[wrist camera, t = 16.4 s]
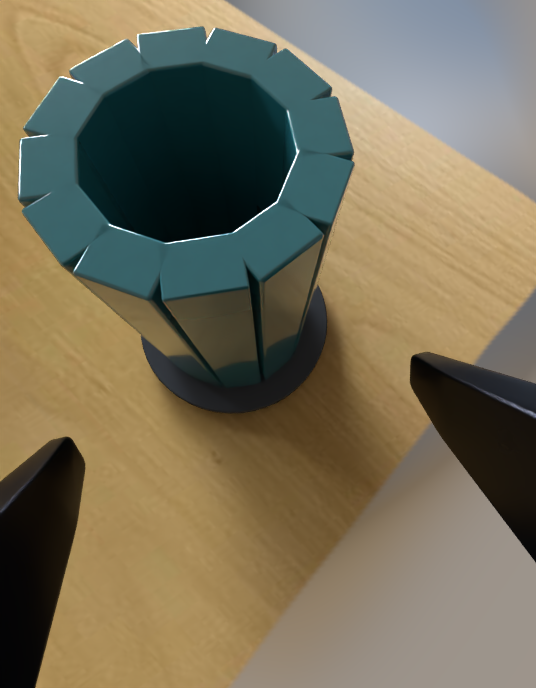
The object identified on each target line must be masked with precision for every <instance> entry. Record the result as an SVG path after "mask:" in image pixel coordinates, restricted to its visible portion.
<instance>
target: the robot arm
mask: <svg viewBox="0 0 536 688" xmlns="http://www.w3.org/2000/svg"><path fill="white" fill-rule="evenodd" d="M410 384H411V387H412V389H413V391H414V393H415V395H416V396H417V398H418V400H419V401H420V403H421V405H422V406H423V408H424V410H425V411H426V413H427V415H428V416H429V418H430V420H431V421H432V423H433V425H434V426H435V428H436V430H437V431H438V433H439V434H440V436H441V437H442V439H443V440H444V441H445V443H446V444H447V445H448V447H449V448H450V449H451V451H452V452H453V453H454V455H455V456H456V457H457V459H458V460H459V461H460V463H461V464H462V465H463V467H464V468H465V469H466V470H467V472H468V473H469V475H470V476H471V477H472V478H473V480H474V481H475V483H476V484H477V485H478V486H479V488H480V489H481V490H482V492H483V493H484V494H485V496H486V497H487V498H488V500H489V501H490V502H491V504H492V505H493V506H494V508H495V509H496V510H497V511H498V513H499V514H500V516H501V517H502V518H503V520H504V521H505V522H506V524H507V525H508V526H509V528H510V529H511V530H512V532H513V533H514V534H515V535H516V537H517V538H518V539H519V541H520V542H521V543H522V545H523V546H524V547H525V549H526V550H527V551H528V553H529V554H530V555H531V557H532V558H533V559H534V561H535V562H536V384H535V383H532V382H528V381H525V380H521V379H518V378H514V377H511V376H508V375H505V374H501V373H498V372H494V371H491V370H487V369H484V368H481V367H477V366H474V365H471V364H468V363H464V362H461V361H457V360H454V359H451V358H447V357H444V356H441V355H437V354H434V353H430V352H423V353H419V354H415V355H413V356H412V358H411V365H410ZM84 474H85V461H84V458H83V457H82V455H81V453H80V452H79V450H78V448H77V447H76V445H75V443H74V441H73V440H72V439H71V438H70V437H62V438H58V439H54V440H51V441H49V442H48V443H47V444H45V445H44V446H43V447H42V448H41V449H39V450H38V451H37V452H36V453H35V454H33V455H32V456H31V457H30V458H28V459H27V460H26V461H25V462H24V463H22V464H21V465H20V466H19V467H18V468H16V469H15V470H14V471H13V472H11V473H10V474H9V475H8V476H7V477H5V478H4V479H3V480H2V481H0V688H35V687H36V683H37V679H38V675H39V671H40V667H41V663H42V660H43V656H44V652H45V648H46V644H47V640H48V636H49V632H50V629H51V625H52V621H53V617H54V613H55V609H56V605H57V601H58V598H59V594H60V590H61V586H62V582H63V578H64V574H65V570H66V567H67V563H68V559H69V555H70V551H71V547H72V543H73V539H74V535H75V531H76V527H77V521H78V516H79V509H80V502H81V495H82V488H83V481H84Z"/></svg>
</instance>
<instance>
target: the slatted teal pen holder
mask: <svg viewBox="0 0 536 688" xmlns="http://www.w3.org/2000/svg"><path fill="white" fill-rule="evenodd" d="M137 46H138V49H137V48H136V47H135V46H134V45H133V44H132V43H131V42H130V41H129V40H128V39H124V40H122V41H120V42H118V43H117V44H115V45H113V46H111V47H109V48H107V49H106V50H104V51H102V52H100V53H98V54H96V55H95V56H93V57H91V58H89V59H87V60H85V61H84V62H82V63H80V64H78V65H76V66H74V67H73V68H71V69H70V70H69V72H70V75H71V77H72V79H73V80H72V79H69V78H65V77H62V76H61V77H59V78H58V79H57V81H56V82H55V84H54V85H53V86H52V88H51V89H50V91H49V92H48V93H47V95H46V96H45V98H44V99H43V100H42V102H41V103H40V105H39V106H38V107H37V109H36V110H35V112H34V113H33V114H32V116H31V117H30V119H29V120H28V121H27V123H26V124H25V125H24V127H23V130H24V131H25V133H26V134H27V135H28V136H29V137H24V138H21V139H20V146H19V177H18V200H19V202H20V203H21V204H22V205H23V206H24V207H25V208H23V209H22V213H23V215H24V217H25V218H26V219H27V221H28V222H29V223H30V225H31V226H32V227H33V229H34V230H35V231H36V233H37V234H38V235H39V237H40V238H41V239H42V241H43V242H44V243H45V245H46V246H47V247H48V249H49V250H50V251H51V253H52V254H53V256H54V257H55V258H56V260H57V261H58V262H59V264H60V265H61V266H62V267H63V268H64V269H65V270H67V271H68V272H69V273H70V274H71V275H72V276H74V277H75V278H76V279H77V280H78V281H79V282H80V283H82V284H83V285H84V286H85V287H86V288H87V289H89V290H90V291H91V292H92V293H93V294H94V295H96V296H97V297H98V298H99V299H100V300H101V301H102V302H104V303H105V304H106V305H107V306H108V307H109V308H111V309H112V310H113V311H114V312H115V313H116V314H117V315H119V316H120V317H121V318H122V319H123V320H124V321H126V322H127V323H128V324H129V325H130V326H131V327H133V328H134V329H135V330H136V331H137V332H138V333H139V334H141V335H142V336H143V337H144V338H145V339H146V340H148V341H149V342H150V343H151V344H152V345H153V346H154V347H156V348H157V349H158V350H159V351H160V352H161V353H163V354H164V355H165V356H166V357H167V358H168V359H170V360H171V361H172V362H173V363H174V364H175V365H176V366H178V367H179V368H180V369H181V370H182V371H183V372H185V373H187V374H188V375H189V376H190V377H193V378H195V379H198V380H201V381H203V382H206V383H209V384H212V385H214V386H217V387H222V385H223V384H224V386H225V387H226V388H232V387H238V386H244V385H250V384H256V383H260V382H261V380H260V375H261V376H262V377H263V378H264V379H265V380H266V379H268V378H269V377H270V376H271V375H272V374H274V373H275V372H276V371H277V370H279V369H280V368H281V367H282V366H283V365H285V364H286V363H287V362H288V361H289V360H290V359H291V357H292V354H293V355H294V354H295V352H296V349H297V346H298V343H299V341H300V338H301V335H302V332H303V329H304V327H305V323H306V320H307V317H308V314H309V311H310V307H311V304H312V301H313V298H314V295H315V291H316V288H317V285H318V282H319V278H320V275H321V272H322V269H323V266H324V262H325V259H326V256H327V253H328V249H329V246H330V243H331V240H332V237H333V233H334V230H335V227H336V224H337V220H338V217H339V214H340V211H341V208H342V204H343V201H344V198H345V195H346V191H347V188H348V185H349V182H350V179H351V175H352V172H353V169H354V166H355V164H354V162H353V161H352V159H353V155H354V150H353V147H352V143H351V140H350V137H349V133H348V130H347V127H346V123H345V120H344V117H343V113H342V110H341V107H340V103H339V100H338V98H337V97H335V96H333V97H331V93H332V87H331V86H330V85H329V84H328V83H327V82H325V81H324V80H323V79H322V78H321V77H319V76H318V75H317V74H316V73H315V72H314V71H312V70H311V69H310V68H309V67H308V66H307V65H305V64H304V63H303V62H302V61H301V60H300V59H298V58H297V57H296V56H295V55H294V54H292V53H291V52H290V51H289V50H288V49H283V50H281V51H280V52H278V53H277V45H276V44H275V43H272V42H268V41H264V40H261V39H257V38H253V37H249V36H245V35H242V34H238V33H234V32H230V31H226V30H223V29H219V28H214V29H213V30H212V32H211V34H210V35H209V37H208V39H207V37H206V31H205V28H204V27H193V28H185V29H177V30H169V31H160V32H152V33H144V34H138V35H137Z"/></svg>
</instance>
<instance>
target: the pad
mask: <svg viewBox="0 0 536 688" xmlns="http://www.w3.org/2000/svg"><path fill="white" fill-rule="evenodd" d="M326 332H327V313H326V307H325V302H324V298H323V296H322V293H321V290H320V288H319V286H318V285H317V288H316V291H315V295H314V298H313V301H312V304H311V307H310V311H309V314H308V317H307V320H306V323H305V327H304V329H303V332H302V335H301V338H300V341H299V343H298V346H297V349H296V352H295V354H294V355H293V354H292V357H291V359H290V360H289V361H288V362H287V363H286V364H285V365H283V366H282V367H281V368H280V369H279V370H277V371H276V372H275V373H274V374H272V375H271V376H270V377H269V378H268V379H266V380H265V379H264V378H263V377H262V376H261V375H260V380H261V382H260V383H256V384H250V385H244V386H238V387H232V388H226V387H225V386H224V384H223V385H222V387H217V386H214V385H212V384H209V383H206V382H203V381H201V380H198V379H195V378H193V377H190V376H189V375H188V374H187V373H185V372H183V371H182V370H181V369H180V368H179V367H178V366H176V365H175V364H174V363H173V362H172V361H171V360H170V359H168V358H167V357H166V356H165V355H164V354H163V353H161V352H160V351H159V350H158V349H157V348H156V347H154V346H153V345H152V344H151V343H150V342H149V341H148V340H146V339H145V338H144V337H143V336H142V335H141V340H142V345H143V349H144V352H145V355H146V358H147V360H148V362H149V364H150V366H151V368H152V370H153V372H154V373H155V374H156V376H157V377H158V378H159V380H160V381H161V382H162V383H163V384H164V385H165V386H166V387H167V388H168V389H169V390H170V391H171V392H173V393H174V394H175V395H177V396H178V397H179V398H181V399H183V400H185V401H186V402H188V403H190V404H192V405H194V406H197V407H199V408H202V409H205V410H209V411H213V412H219V413H245V412H251V411H256V410H259V409H263V408H266V407H268V406H270V405H273V404H275V403H277V402H279V401H280V400H282V399H284V398H285V397H287V396H288V395H290V394H291V393H292V392H293V391H295V390H296V389H297V388H298V387H299V386H300V385H301V384H302V383H303V382H304V381H305V380H306V378H307V377H308V376H309V374H310V373H311V371H312V370H313V369H314V367H315V365H316V363H317V361H318V359H319V357H320V355H321V352H322V349H323V346H324V343H325V338H326Z"/></svg>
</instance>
